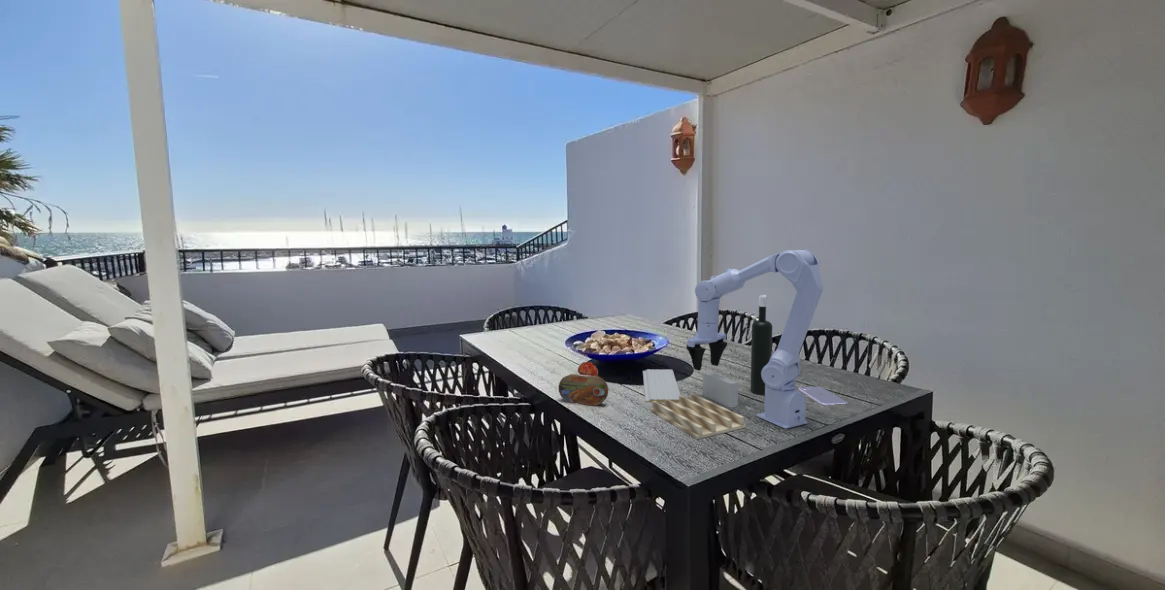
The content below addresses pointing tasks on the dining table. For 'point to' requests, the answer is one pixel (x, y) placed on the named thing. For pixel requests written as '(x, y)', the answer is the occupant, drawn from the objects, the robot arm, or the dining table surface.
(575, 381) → the tin
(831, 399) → the mobile phone
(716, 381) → the gray rectangular block
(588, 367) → the pomegranate
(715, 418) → the rack
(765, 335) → the wine bottle
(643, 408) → the dining table surface
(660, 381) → the baseboard molding
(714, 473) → the dining table surface
